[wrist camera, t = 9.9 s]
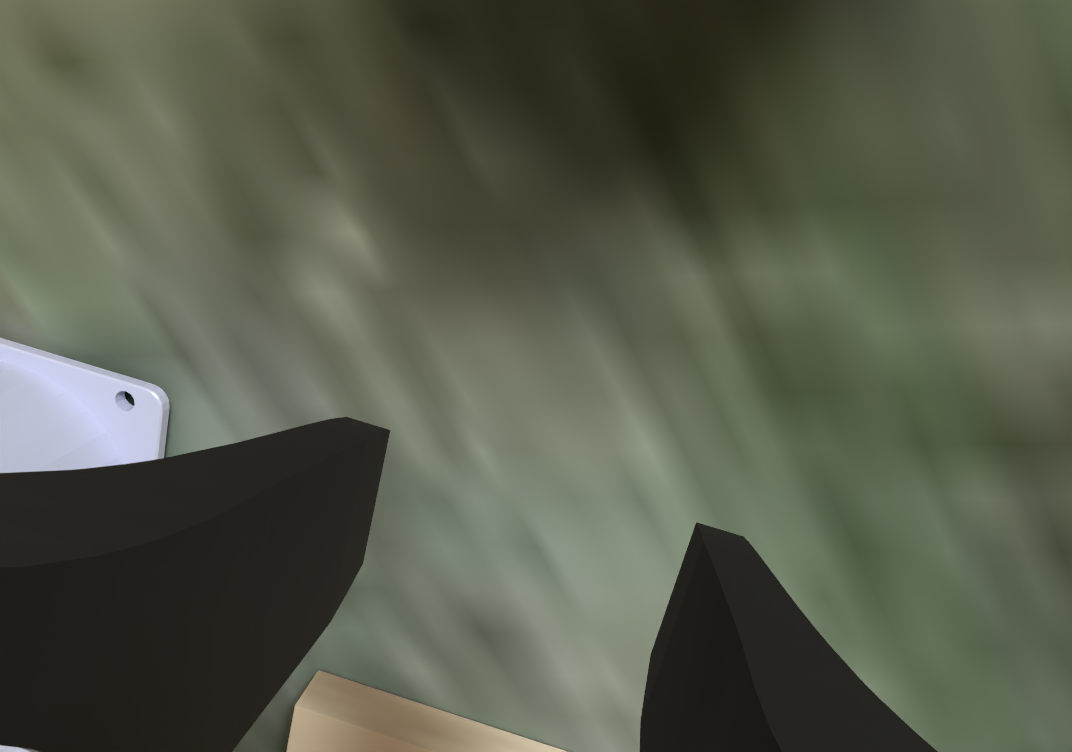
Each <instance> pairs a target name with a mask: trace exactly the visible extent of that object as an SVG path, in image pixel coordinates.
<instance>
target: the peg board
mask: <svg viewBox="0 0 1072 752" xmlns="http://www.w3.org/2000/svg"><path fill="white" fill-rule="evenodd" d="M286 752H567V751H564V750H561V749H558V748H555V747H552V746H549V745H546V744H542V743H539V742H536V741H533V740H530V739H527V738H524V737H521V736H518V735H515V734H512V733H509V732H506V731H503V730H500V729H497V728H494V727H491V726H488V725H485V724H482V723H479V722H475V721H472V720H469V719H466V718H463V717H460V716H457V715H454V714H451V713H448V712H445V711H442V710H439V709H436V708H433V707H430V706H427V705H424V704H421V703H418V702H415V701H411V700H408V699H405V698H402V697H399V696H396V695H393V694H390V693H387V692H384V691H381V690H378V689H375V688H372V687H369V686H366V685H363V684H360V683H357V682H354V681H351V680H347V679H344V678H341V677H338V676H335V675H332V674H329V673H326V672H323V671H320V670H318V671H317V673H316V674H315V676H314V677H313V679H312V680H311V682H310V683H309V685H308V686H307V688H306V689H305V691H304V692H303V694H302V695H301V697H300V698H299V700H298V701H297V703H296V705H295V708H294V714H293V719H292V724H291V730H290V735H289V741H288V746H287V751H286Z"/></svg>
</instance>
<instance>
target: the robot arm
mask: <svg viewBox="0 0 1072 752" xmlns="http://www.w3.org/2000/svg"><path fill="white" fill-rule="evenodd" d="M125 391H126V392H128V393H130V394H131V395H132V397H133V398H134V403H135V405H134V406H133V405H131V404H130V403H128V401H127V400H126V398H125ZM169 408H170V407H169V400H168V397H167V395H166V393H165V392H164V391H163V390H162V389H161V388H160V387H158V386H156V385H154V384H151V383H148V382H144V381H141V380H138V379H135V378H131V377H128V376H125V375H121V374H118V373H115V372H111V371H108V370H105V369H102V368H98V367H95V366H92V365H88V364H85V363H82V362H79V361H75V360H72V359H69V358H65V357H62V356H59V355H56V354H52V353H49V352H46V351H42V350H39V349H36V348H33V347H29V346H26V345H23V344H19V343H16V342H13V341H9V340H6V339H3V338H0V752H232V751H233V750H234V748H235V747H236V745H237V744H238V743H239V742H240V740H241V739H242V738H243V736H244V735H245V734H246V732H247V731H248V730H249V728H250V727H251V726H252V725H253V723H254V722H255V721H256V719H257V718H258V717H259V715H260V714H261V713H262V711H263V710H264V709H265V708H266V706H267V705H268V704H269V702H270V701H271V700H272V698H273V697H274V696H275V694H276V693H277V692H278V691H279V689H280V688H281V687H282V685H283V684H284V683H285V681H286V680H287V679H288V678H289V676H290V675H291V674H292V672H293V671H294V670H295V668H296V667H297V666H298V664H299V663H300V662H301V660H302V659H303V658H304V656H305V655H306V654H307V652H308V651H309V650H310V648H311V647H312V646H313V645H314V643H315V642H316V641H317V639H318V638H319V637H320V635H321V634H322V632H323V631H324V630H325V628H326V627H327V626H328V624H329V623H330V622H331V620H332V618H333V616H334V615H335V613H336V611H337V609H338V608H339V606H340V604H341V602H342V601H343V599H344V597H345V595H346V594H347V592H348V590H349V588H350V586H351V584H352V583H353V581H354V579H355V577H356V575H357V573H358V571H359V570H360V568H361V566H362V564H363V560H364V555H365V551H366V546H367V541H368V536H369V531H370V526H371V521H372V516H373V512H374V507H375V502H376V497H377V492H378V487H379V482H380V477H381V472H382V468H383V463H384V458H385V453H386V448H387V443H388V438H389V433H390V430H388V429H384V428H381V427H378V426H374V425H371V424H368V423H365V422H361V421H358V420H355V419H351V418H348V417H343V418H335V419H329V420H325V421H320V422H316V423H312V424H308V425H304V426H300V427H296V428H292V429H289V430H285V431H281V432H277V433H273V434H269V435H265V436H262V437H258V438H254V439H250V440H246V441H242V442H238V443H234V444H229V445H225V446H220V447H215V448H210V449H206V450H201V451H196V452H192V453H187V454H182V455H177V456H173V457H168V458H164V452H165V444H166V435H167V426H168V417H169ZM640 752H937V751H936V750H935V749H934V748H933V747H932V746H930V745H929V744H928V743H927V742H926V741H925V740H923V739H922V738H921V737H920V736H919V735H918V734H917V733H916V732H915V731H913V730H912V729H911V728H910V727H909V726H908V725H907V724H906V723H905V722H904V721H903V720H902V719H901V718H900V717H898V716H897V715H896V714H895V713H894V712H893V711H892V710H891V709H890V708H889V707H888V706H887V705H886V704H885V703H883V702H882V701H881V700H880V699H879V698H878V697H877V696H876V695H875V694H874V693H873V692H872V691H871V690H870V689H869V688H868V687H867V686H866V685H865V684H864V683H863V682H862V681H861V680H860V678H859V677H858V676H857V675H856V674H855V673H854V672H853V671H852V670H851V669H850V667H849V666H848V665H847V664H846V663H845V662H844V661H843V660H842V659H841V657H840V656H839V655H838V654H837V653H836V652H835V651H834V650H833V649H832V647H831V646H830V645H829V644H828V643H827V642H826V641H825V639H824V638H823V637H822V636H821V635H820V633H819V632H818V631H817V630H816V629H815V627H814V626H813V625H812V624H811V622H810V621H809V620H808V619H807V618H806V616H805V615H804V614H803V612H802V611H801V610H800V609H799V607H798V606H797V605H796V604H795V602H794V601H793V600H792V598H791V597H790V596H789V594H788V593H787V592H786V591H785V589H784V588H783V587H782V585H781V584H780V583H779V581H778V580H777V579H776V577H775V576H774V574H773V573H772V572H771V570H770V569H769V568H768V566H767V565H766V564H765V562H764V561H763V560H762V558H761V557H760V556H759V554H758V553H757V552H756V551H755V549H754V548H753V547H752V546H751V544H750V543H749V542H748V541H747V540H746V539H745V538H744V537H743V536H740V535H736V534H733V533H730V532H726V531H723V530H720V529H716V528H713V527H710V526H706V525H703V524H700V523H696V525H695V528H694V531H693V534H692V537H691V539H690V542H689V545H688V548H687V551H686V554H685V557H684V560H683V563H682V566H681V568H680V571H679V574H678V577H677V580H676V583H675V586H674V589H673V592H672V595H671V597H670V600H669V603H668V606H667V609H666V612H665V615H664V618H663V621H662V624H661V626H660V629H659V632H658V635H657V638H656V641H655V644H654V647H653V650H652V653H651V657H650V663H649V669H648V676H647V682H646V688H645V695H644V702H643V709H642V716H641V728H640Z"/></svg>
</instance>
